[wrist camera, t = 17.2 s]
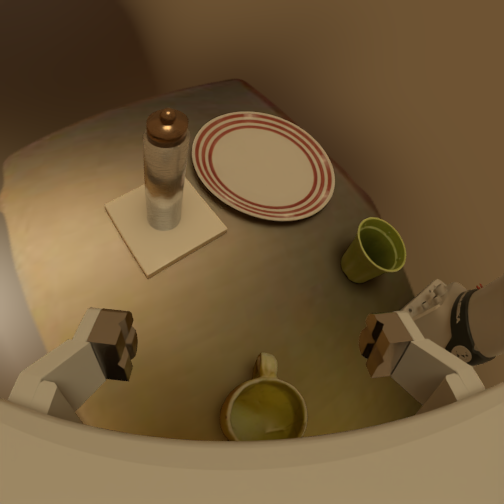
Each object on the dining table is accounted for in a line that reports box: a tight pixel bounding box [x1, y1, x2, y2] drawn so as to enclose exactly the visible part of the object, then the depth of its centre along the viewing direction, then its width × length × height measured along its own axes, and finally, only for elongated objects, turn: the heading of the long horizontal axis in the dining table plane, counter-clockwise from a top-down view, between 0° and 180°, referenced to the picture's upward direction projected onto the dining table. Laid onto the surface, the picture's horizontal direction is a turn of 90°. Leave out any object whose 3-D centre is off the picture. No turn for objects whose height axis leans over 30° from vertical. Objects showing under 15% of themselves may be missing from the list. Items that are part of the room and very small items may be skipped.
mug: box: [220, 352, 308, 441], centre depth 31 cm, size 12×10×10 cm
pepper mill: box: [143, 108, 190, 231], centre depth 35 cm, size 5×5×20 cm
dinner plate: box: [192, 112, 335, 221], centre depth 53 cm, size 27×27×3 cm
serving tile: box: [104, 178, 227, 279], centre depth 44 cm, size 14×14×1 cm
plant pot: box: [341, 217, 406, 283], centre depth 46 cm, size 9×9×9 cm
